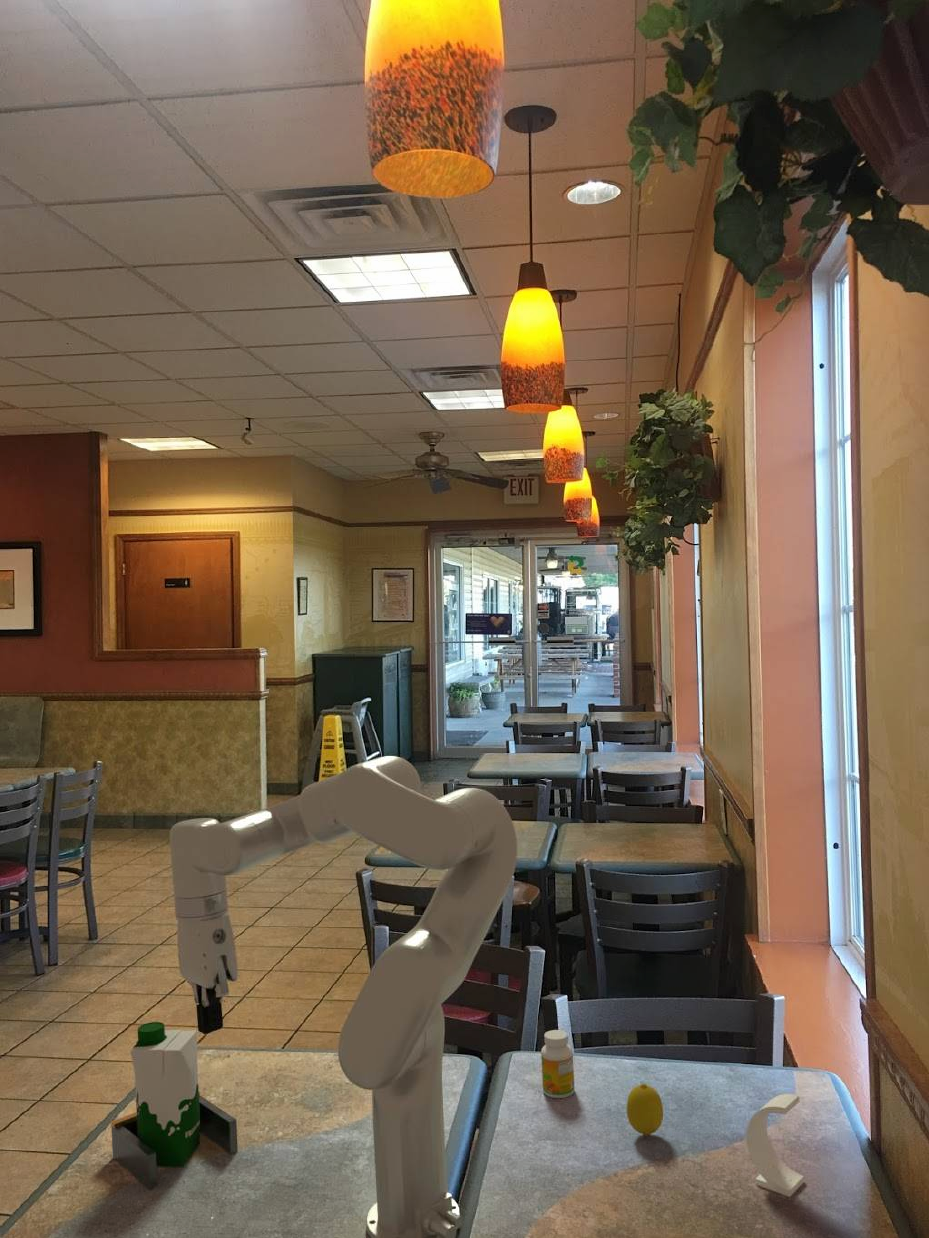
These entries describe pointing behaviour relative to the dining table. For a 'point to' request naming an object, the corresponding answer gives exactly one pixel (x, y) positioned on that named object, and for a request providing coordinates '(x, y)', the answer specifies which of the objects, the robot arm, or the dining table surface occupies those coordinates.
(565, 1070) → the supplement bottle
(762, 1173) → the headphone stand
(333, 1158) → the dining table surface
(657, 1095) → the lemon
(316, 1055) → the dining table surface
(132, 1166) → the bracket
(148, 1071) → the soya milk
